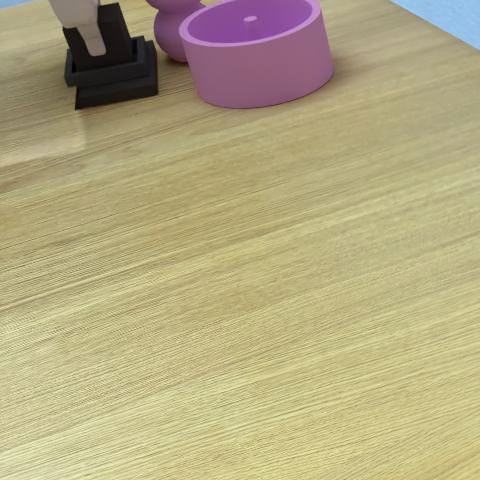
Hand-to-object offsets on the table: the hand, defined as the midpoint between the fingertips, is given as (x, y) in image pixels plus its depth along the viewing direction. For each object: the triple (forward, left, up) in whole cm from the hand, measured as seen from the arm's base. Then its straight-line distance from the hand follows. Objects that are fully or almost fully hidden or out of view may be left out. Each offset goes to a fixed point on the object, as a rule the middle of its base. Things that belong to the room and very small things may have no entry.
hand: (99, 41), depth 118 cm
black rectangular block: (0, 0, -2) cm, 2 cm away
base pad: (0, 0, -4) cm, 4 cm away
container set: (+14, -4, -4) cm, 15 cm away
